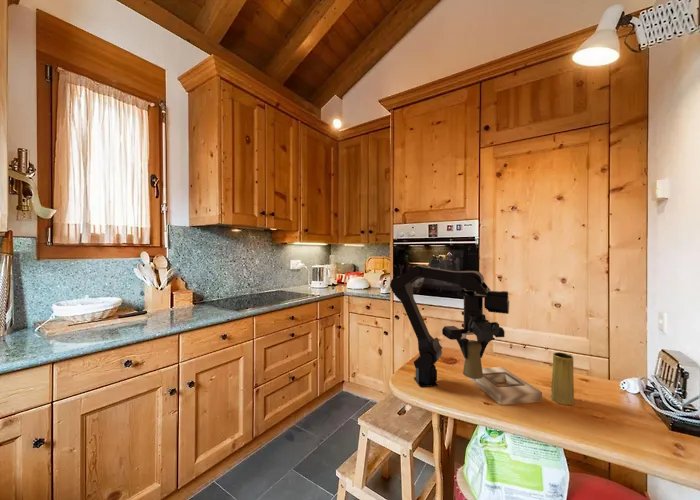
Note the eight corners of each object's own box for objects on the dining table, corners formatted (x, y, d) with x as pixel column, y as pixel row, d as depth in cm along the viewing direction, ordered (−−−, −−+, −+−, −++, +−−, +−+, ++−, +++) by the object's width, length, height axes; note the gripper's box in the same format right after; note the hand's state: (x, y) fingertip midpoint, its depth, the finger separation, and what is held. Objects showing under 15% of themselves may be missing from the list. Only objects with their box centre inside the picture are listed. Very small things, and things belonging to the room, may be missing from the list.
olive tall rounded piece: (486, 379, 93) (486, 344, 93) (467, 378, 93) (467, 344, 93) (478, 370, 99) (478, 338, 99) (460, 370, 99) (460, 338, 99)
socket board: (500, 404, 90) (500, 394, 90) (467, 376, 109) (467, 368, 109) (541, 401, 92) (541, 391, 92) (502, 374, 111) (502, 365, 111)
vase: (570, 397, 95) (571, 353, 94) (578, 407, 89) (578, 360, 88) (548, 394, 97) (548, 350, 96) (554, 403, 91) (554, 357, 90)
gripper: (458, 317, 87) (458, 370, 87) (516, 315, 89) (516, 366, 89) (441, 309, 98) (441, 355, 98) (493, 307, 100) (493, 352, 100)
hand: (472, 357), depth 96 cm, fingers closed on olive tall rounded piece, 5 cm apart
